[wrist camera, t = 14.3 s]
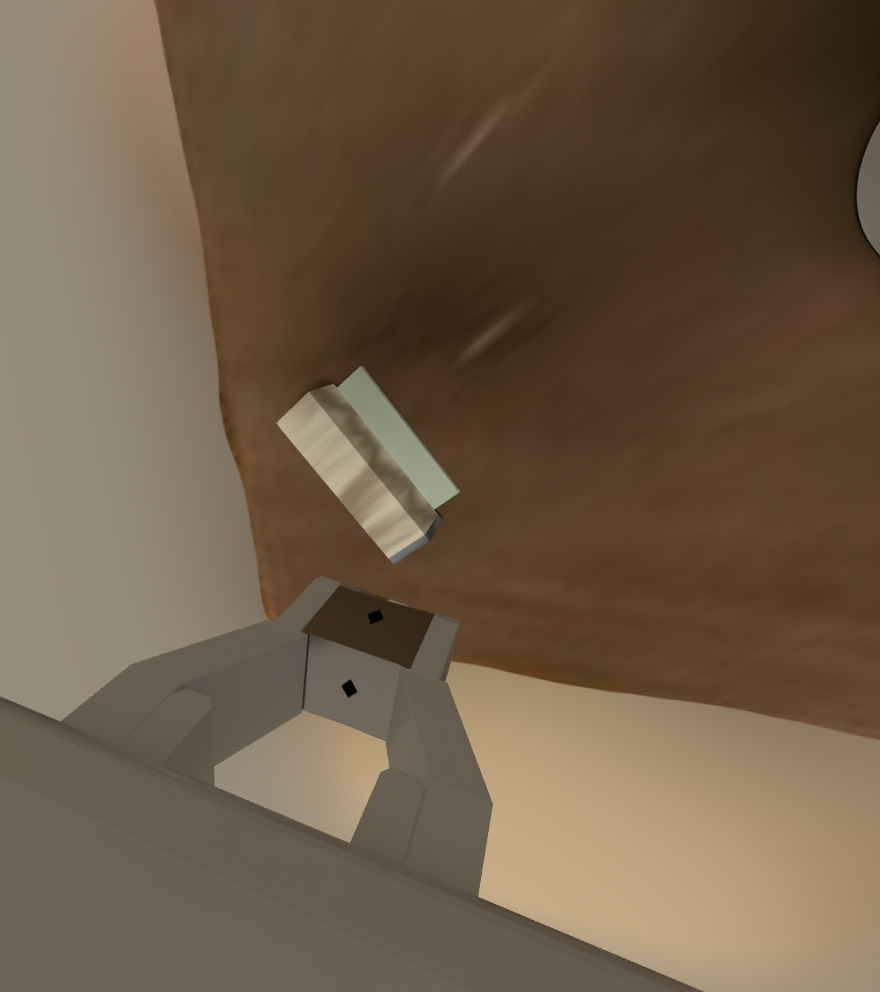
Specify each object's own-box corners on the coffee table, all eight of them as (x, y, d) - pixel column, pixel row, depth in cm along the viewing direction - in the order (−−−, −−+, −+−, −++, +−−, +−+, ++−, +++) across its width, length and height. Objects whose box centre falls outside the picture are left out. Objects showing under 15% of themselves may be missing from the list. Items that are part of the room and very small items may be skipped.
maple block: (429, 541, 45) (308, 391, 43) (393, 564, 48) (276, 423, 45) (442, 520, 50) (333, 383, 47) (408, 542, 52) (303, 412, 49)
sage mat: (460, 490, 49) (459, 492, 48) (380, 544, 54) (378, 546, 53) (362, 365, 46) (360, 366, 46) (288, 434, 51) (286, 435, 51)
